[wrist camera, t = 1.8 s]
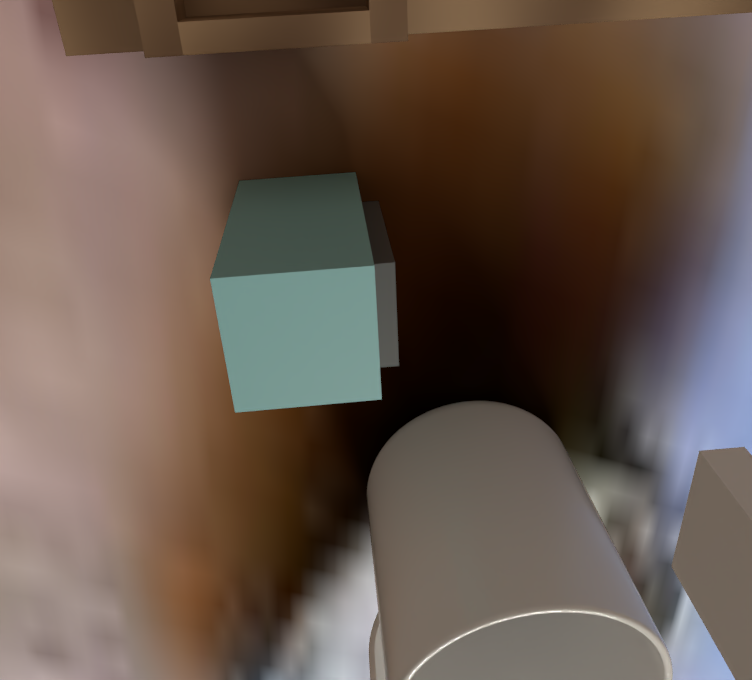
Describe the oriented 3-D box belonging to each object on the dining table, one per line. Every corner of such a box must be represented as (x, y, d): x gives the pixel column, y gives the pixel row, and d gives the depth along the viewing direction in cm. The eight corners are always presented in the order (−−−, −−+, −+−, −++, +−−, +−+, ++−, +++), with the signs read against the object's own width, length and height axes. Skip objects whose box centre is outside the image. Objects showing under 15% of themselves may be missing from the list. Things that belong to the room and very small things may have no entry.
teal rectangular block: (255, 285, 26) (235, 412, 19) (239, 180, 24) (210, 278, 17) (378, 276, 26) (403, 397, 19) (373, 170, 24) (398, 263, 17)
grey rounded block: (443, 350, 28) (516, 567, 18) (600, 439, 31) (733, 665, 21) (290, 539, 32) (282, 793, 22) (440, 600, 35) (489, 847, 26)
